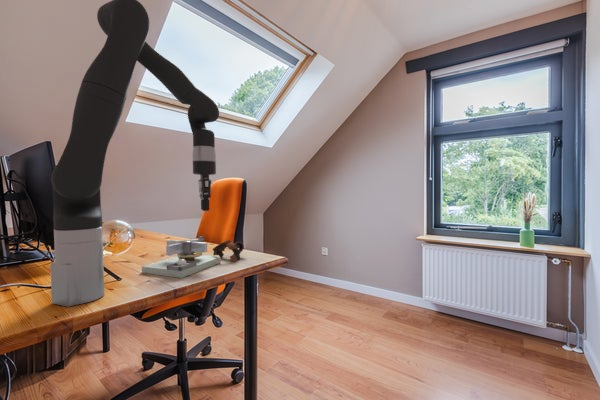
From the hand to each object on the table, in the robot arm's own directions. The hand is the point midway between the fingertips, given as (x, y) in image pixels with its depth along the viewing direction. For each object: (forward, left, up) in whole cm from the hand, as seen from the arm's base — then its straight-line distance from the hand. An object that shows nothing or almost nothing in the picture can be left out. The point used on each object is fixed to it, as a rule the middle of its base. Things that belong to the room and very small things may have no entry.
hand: (205, 210), depth 98 cm
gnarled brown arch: (+11, -2, -20) cm, 22 cm away
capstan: (-4, +4, -17) cm, 18 cm away
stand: (-5, +5, -19) cm, 21 cm away
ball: (-11, 0, -16) cm, 19 cm away
